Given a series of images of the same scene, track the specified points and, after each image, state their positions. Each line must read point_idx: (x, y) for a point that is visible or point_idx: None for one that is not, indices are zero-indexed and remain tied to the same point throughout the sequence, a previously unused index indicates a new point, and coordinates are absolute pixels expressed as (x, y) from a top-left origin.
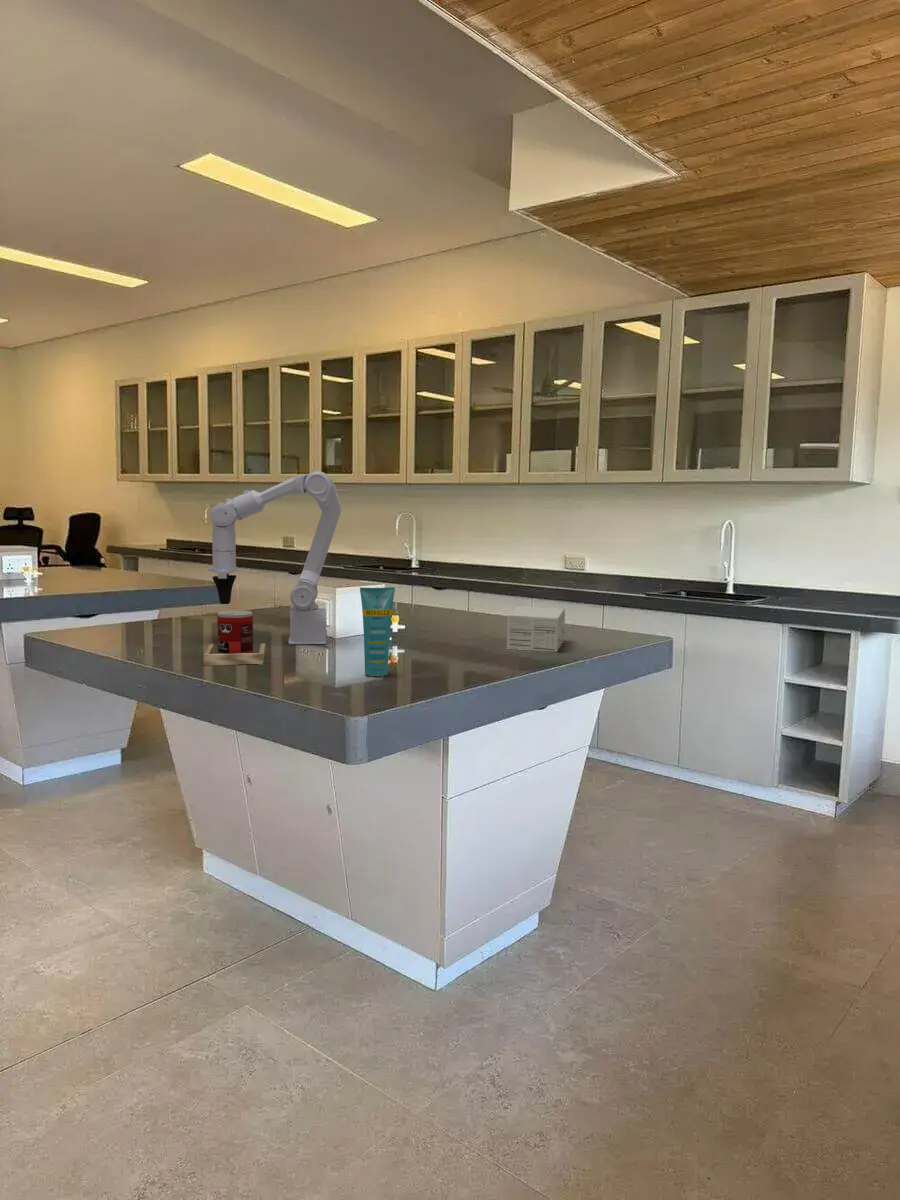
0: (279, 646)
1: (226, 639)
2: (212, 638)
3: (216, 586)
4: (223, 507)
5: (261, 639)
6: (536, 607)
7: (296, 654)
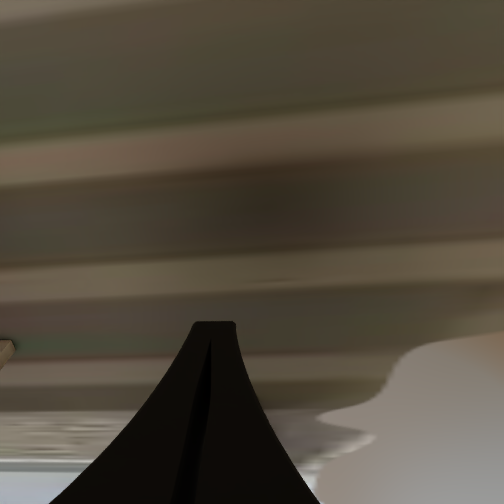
0: (141, 377)
1: None
2: (324, 157)
3: (105, 449)
4: None
5: (272, 331)
6: None
7: (23, 412)
